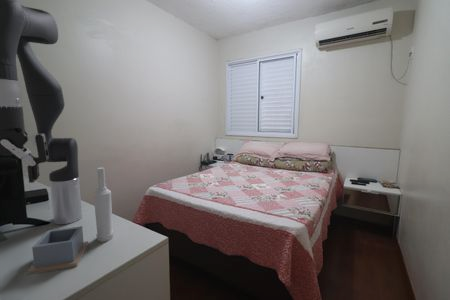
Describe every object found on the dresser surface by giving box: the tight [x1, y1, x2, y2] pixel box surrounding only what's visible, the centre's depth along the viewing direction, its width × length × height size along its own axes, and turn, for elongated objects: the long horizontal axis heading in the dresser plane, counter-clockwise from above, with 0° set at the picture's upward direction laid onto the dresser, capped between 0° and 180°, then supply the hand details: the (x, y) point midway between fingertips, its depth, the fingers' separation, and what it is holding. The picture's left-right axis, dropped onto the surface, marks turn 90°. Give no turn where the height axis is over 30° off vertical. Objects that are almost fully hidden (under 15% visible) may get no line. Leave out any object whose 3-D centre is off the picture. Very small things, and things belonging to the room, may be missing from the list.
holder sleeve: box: [27, 226, 89, 275], centre depth 62 cm, size 11×11×7 cm
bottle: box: [93, 167, 114, 243], centre depth 71 cm, size 5×5×25 cm
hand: (5, 183), depth 43 cm, fingers open, 8 cm apart
